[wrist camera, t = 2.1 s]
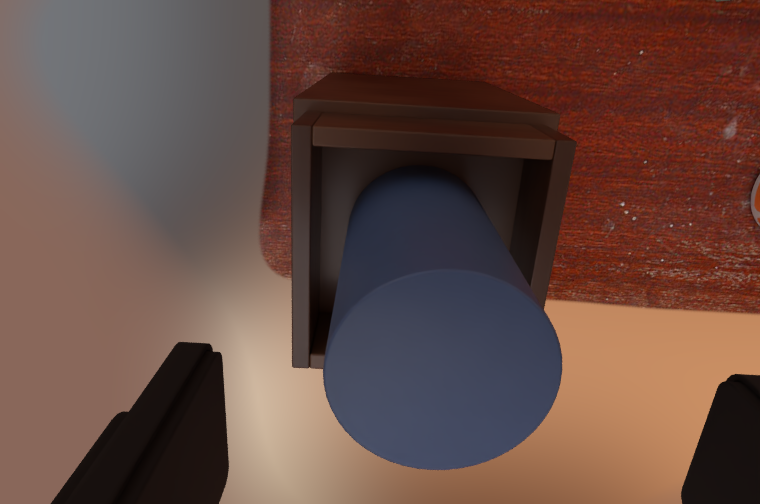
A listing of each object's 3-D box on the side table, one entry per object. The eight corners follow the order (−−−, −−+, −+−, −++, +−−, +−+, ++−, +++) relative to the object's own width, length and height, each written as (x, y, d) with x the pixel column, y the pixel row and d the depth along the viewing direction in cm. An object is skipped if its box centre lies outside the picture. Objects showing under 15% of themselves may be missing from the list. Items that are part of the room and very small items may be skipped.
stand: (327, 219, 34) (280, 377, 18) (330, 72, 31) (276, 108, 15) (466, 227, 34) (539, 390, 18) (485, 81, 31) (594, 128, 15)
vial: (319, 226, 19) (272, 370, 11) (424, 134, 18) (462, 218, 10) (408, 317, 21) (427, 505, 12) (512, 237, 19) (610, 387, 11)
